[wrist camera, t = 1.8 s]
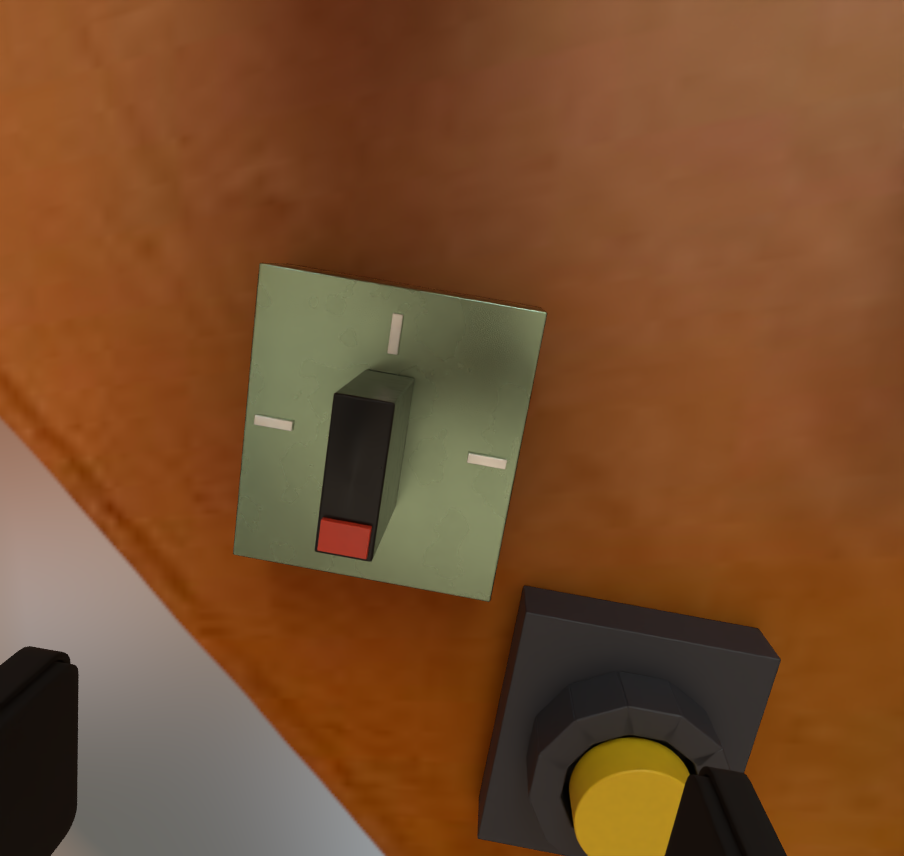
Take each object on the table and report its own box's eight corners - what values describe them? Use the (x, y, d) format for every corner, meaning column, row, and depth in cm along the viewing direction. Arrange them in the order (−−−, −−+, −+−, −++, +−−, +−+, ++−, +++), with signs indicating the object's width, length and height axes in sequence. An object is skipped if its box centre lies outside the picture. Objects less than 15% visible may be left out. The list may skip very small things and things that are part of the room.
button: (582, 725, 25) (588, 759, 23) (705, 749, 24) (720, 784, 23) (557, 825, 26) (562, 864, 24) (674, 847, 26) (687, 888, 24)
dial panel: (286, 263, 25) (257, 262, 22) (542, 307, 25) (547, 312, 22) (260, 525, 28) (230, 556, 25) (491, 567, 28) (490, 604, 25)
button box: (523, 584, 28) (528, 643, 23) (758, 627, 28) (807, 695, 23) (478, 797, 30) (475, 885, 26) (692, 838, 30) (725, 934, 26)
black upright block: (364, 369, 23) (331, 394, 18) (415, 378, 23) (394, 405, 18) (346, 501, 24) (311, 556, 20) (395, 510, 24) (370, 566, 20)
